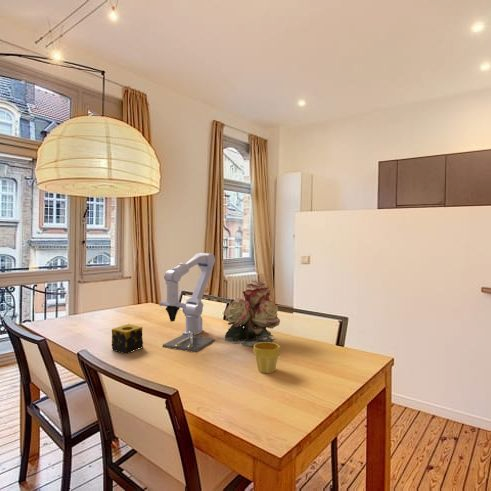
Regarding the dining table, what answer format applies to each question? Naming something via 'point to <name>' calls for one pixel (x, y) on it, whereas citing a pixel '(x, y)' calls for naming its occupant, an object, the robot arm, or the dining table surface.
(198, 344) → the plate
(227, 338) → the rose bouquet
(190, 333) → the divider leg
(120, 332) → the candle
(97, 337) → the dining table surface
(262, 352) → the plant pot
